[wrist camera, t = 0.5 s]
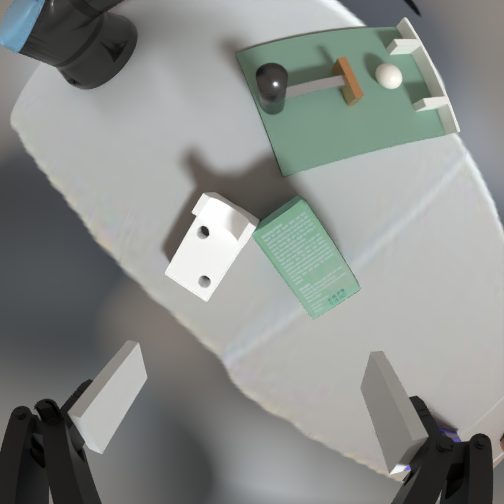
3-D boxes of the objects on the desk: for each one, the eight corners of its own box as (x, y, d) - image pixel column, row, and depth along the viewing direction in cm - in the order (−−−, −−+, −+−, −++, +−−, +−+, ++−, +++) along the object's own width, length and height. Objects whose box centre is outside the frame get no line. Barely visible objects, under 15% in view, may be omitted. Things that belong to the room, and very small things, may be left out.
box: (296, 193, 36) (302, 194, 29) (348, 270, 38) (363, 289, 31) (253, 224, 38) (247, 234, 30) (307, 298, 40) (314, 322, 32)
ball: (367, 70, 30) (376, 60, 26) (389, 68, 29) (399, 58, 26) (378, 94, 31) (388, 85, 27) (399, 90, 30) (411, 82, 26)
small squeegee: (253, 89, 32) (246, 57, 22) (339, 68, 30) (357, 35, 20) (268, 127, 33) (266, 105, 23) (355, 104, 31) (380, 79, 22)
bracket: (216, 192, 37) (203, 193, 30) (259, 219, 38) (256, 227, 30) (173, 266, 40) (152, 283, 33) (212, 292, 41) (199, 314, 33)
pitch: (236, 55, 32) (231, 42, 28) (397, 29, 28) (406, 17, 24) (283, 176, 36) (284, 175, 31) (445, 135, 32) (460, 131, 27)
